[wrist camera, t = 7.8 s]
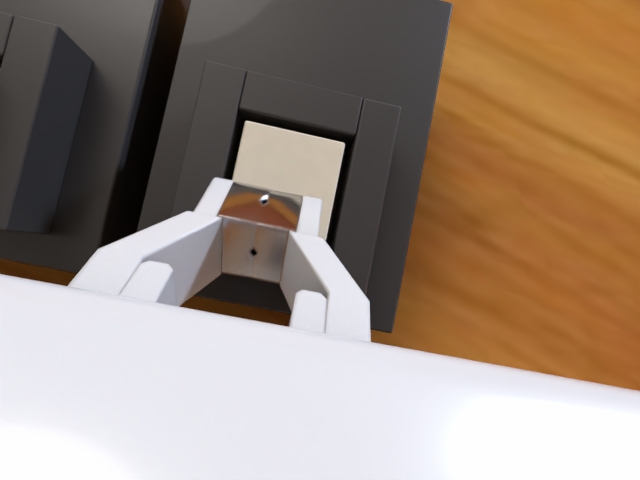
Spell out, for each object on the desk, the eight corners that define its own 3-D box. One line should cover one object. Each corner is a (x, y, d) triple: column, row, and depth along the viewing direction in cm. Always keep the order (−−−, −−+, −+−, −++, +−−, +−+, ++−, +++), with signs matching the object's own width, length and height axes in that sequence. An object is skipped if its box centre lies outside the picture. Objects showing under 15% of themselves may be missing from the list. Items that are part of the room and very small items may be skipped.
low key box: (362, 311, 17) (410, 347, 10) (175, 274, 17) (92, 287, 10) (407, 75, 18) (480, -39, 11) (229, 32, 18) (189, -117, 11)
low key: (320, 244, 12) (326, 242, 10) (232, 226, 12) (222, 220, 10) (338, 158, 12) (346, 142, 11) (251, 139, 12) (244, 119, 10)
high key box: (153, 270, 17) (55, 280, 10) (-51, 231, 16) (-312, 211, 9) (209, 27, 17) (155, -127, 10) (17, -20, 17) (-178, -216, 10)
